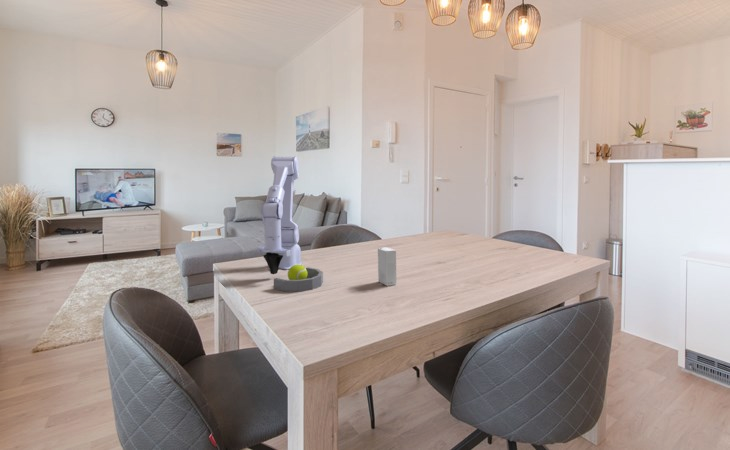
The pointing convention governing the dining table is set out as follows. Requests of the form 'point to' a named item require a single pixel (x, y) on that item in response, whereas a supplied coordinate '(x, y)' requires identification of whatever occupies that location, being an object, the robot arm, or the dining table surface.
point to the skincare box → (387, 266)
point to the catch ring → (301, 282)
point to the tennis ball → (297, 272)
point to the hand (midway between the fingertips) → (274, 273)
